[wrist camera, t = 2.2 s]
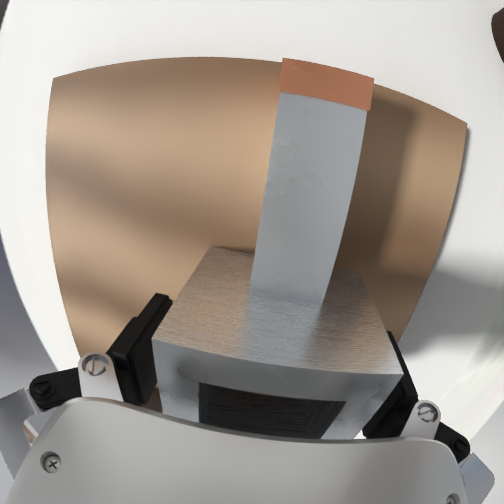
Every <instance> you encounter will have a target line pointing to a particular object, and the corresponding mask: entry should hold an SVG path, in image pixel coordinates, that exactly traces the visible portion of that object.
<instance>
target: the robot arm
mask: <svg viewBox="0 0 504 504" xmlns="http://www.w3.org/2000/svg"><path fill="white" fill-rule="evenodd" d="M172 304H173V300H172V299H169V296H168V295H165V294H161V293H155V294H154V296H153V297H152V298H151V300H150V301H149V302H148V304H147V305H146V306H145V307H144V309H143V310H142V311H141V313H140V314H139V315H138V317H133V318H132V319H131V320H130V321H129V323H128V324H127V325H126V326H125V328H124V329H123V330H122V332H121V333H120V334H119V336H118V337H117V338H116V340H115V341H114V342H113V344H112V345H111V347H110V348H109V349H108V351H107V352H106V353H103V352H90V353H87V354H85V355H84V356H83V357H82V358H81V359H80V360H79V362H78V367H77V368H72V369H68V370H63V371H59V372H54V373H50V374H45V375H41V376H38V377H36V378H35V379H33V381H32V382H31V384H30V386H29V389H27V390H25V389H24V388H23V389H20V390H18V391H16V392H14V393H12V394H10V395H7V396H5V397H3V398H1V399H0V450H1V452H2V455H3V457H4V460H5V462H6V464H7V466H8V468H9V470H10V472H11V474H12V476H13V478H14V482H13V484H12V487H11V489H10V491H9V493H8V496H7V498H6V501H5V504H482V502H483V501H484V499H485V498H486V496H487V495H488V493H489V492H490V490H491V489H492V487H493V485H494V480H495V479H494V475H493V473H492V472H491V471H490V470H489V469H488V468H487V466H486V465H485V464H484V463H483V462H482V461H481V460H480V459H479V458H478V457H477V456H476V455H475V454H474V453H472V454H470V444H469V442H468V440H467V439H466V438H465V437H464V436H462V435H461V434H459V433H457V432H456V431H454V430H453V429H451V428H450V427H448V426H446V425H445V424H443V423H442V422H440V419H441V413H440V410H439V408H438V407H437V406H436V404H434V403H433V402H431V401H428V400H421V401H419V400H418V394H417V392H416V389H415V386H414V384H413V381H412V379H411V376H410V374H409V371H408V369H407V366H406V364H405V362H404V359H403V357H402V355H401V352H400V350H399V348H398V345H397V343H396V341H395V339H394V337H393V334H392V332H391V331H387V330H386V332H387V334H388V337H389V339H390V341H391V344H392V346H393V348H394V351H395V353H396V356H397V358H398V361H399V363H400V366H401V368H402V371H403V376H402V377H401V379H400V380H399V382H398V383H397V385H396V386H395V388H394V389H393V390H392V392H391V393H390V394H389V396H388V397H387V399H386V400H385V401H384V402H383V404H382V405H381V406H380V408H379V409H378V410H377V411H376V413H375V414H374V415H373V416H372V418H371V419H370V420H369V421H368V423H367V424H366V425H365V426H364V427H363V428H362V432H363V435H364V436H365V437H366V439H306V438H292V437H281V436H271V435H263V434H255V433H249V432H242V431H236V430H231V429H225V428H220V427H215V426H210V425H206V424H201V423H197V422H193V421H189V420H185V419H181V418H177V417H174V416H170V415H166V414H163V413H159V412H156V411H153V410H149V409H146V408H143V407H142V405H143V404H144V405H146V404H147V403H148V401H149V399H150V397H151V395H152V393H153V391H154V389H155V387H156V384H157V382H158V381H157V375H156V369H155V362H154V355H153V347H152V339H151V338H152V337H153V335H154V333H155V332H156V330H157V328H158V327H159V325H160V324H161V322H162V320H163V319H164V317H165V316H166V314H167V312H168V311H169V309H170V308H171V306H172Z"/></svg>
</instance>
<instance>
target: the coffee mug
mask: <svg viewBox="0 0 504 504" xmlns="http://www.w3.org/2000/svg"><path fill="white" fill-rule="evenodd" d="M491 26H492V33H493V37H494V41H495V43H496V46H497V49H498V52H499V54H500V56H501V59H502V61H503V63H504V8H503V9H501V10H500V11H498V12H497V13H495V14H494V15H493V17H492V22H491Z"/></svg>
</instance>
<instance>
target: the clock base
mask: <svg viewBox="0 0 504 504" xmlns="http://www.w3.org/2000/svg"><path fill="white" fill-rule="evenodd" d="M281 67H282V63H281V62H273V61H265V60H255V59H243V58H225V57H180V58H162V59H150V60H141V61H133V62H125V63H119V64H112V65H107V66H101V67H96V68H92V69H87V70H83V71H78V72H74V73H70V74H67V75H63V76H59V77H56V78H53V82H52V88H51V95H50V102H49V111H48V121H47V135H46V196H47V210H48V221H49V230H50V238H51V245H52V251H53V257H54V263H55V268H56V273H57V278H58V283H59V287H60V292H61V296H62V300H63V304H64V308H65V311H66V315H67V318H68V322H69V325H70V329H71V332H72V335H73V338H74V341H75V344H76V347H77V350H78V352H79V355H80V358H82V357H83V356H84V355H85V354H87V353H90V352H103V353H106V352H107V351H108V349H109V348H110V347H111V345H112V344H113V342H114V341H115V340H116V338H117V337H118V336H119V334H120V333H121V332H122V330H123V329H124V328H125V326H126V325H127V324H128V323H129V321H130V320H131V319H132V318H133V317H138V315H139V314H140V313H141V311H142V310H143V309H144V307H145V306H146V305H147V304H148V302H149V301H150V300H151V298H152V297H153V296H154V294H155V293H161V294H165V295H168V296H169V299H172V300H173V303H174V301H175V300H176V298H177V296H178V295H179V293H180V292H181V290H182V289H183V287H184V285H185V284H186V282H187V281H188V279H189V278H190V276H191V275H192V273H193V272H194V270H195V268H196V267H197V265H198V264H199V262H200V261H201V259H202V258H203V256H204V255H205V253H206V252H207V250H208V249H209V247H210V246H216V247H222V248H227V249H233V250H239V251H245V252H251V253H255V249H256V243H257V237H258V230H259V224H260V217H261V211H262V205H263V198H264V192H265V185H266V179H267V172H268V166H269V160H270V153H271V147H272V140H273V134H274V127H275V120H276V114H277V107H278V101H279V96H278V87H279V80H280V74H281ZM466 131H467V123H466V122H464V121H462V120H460V119H458V118H456V117H454V116H452V115H450V114H448V113H446V112H444V111H442V110H440V109H438V108H436V107H434V106H431V105H429V104H427V103H425V102H422V101H420V100H418V99H415V98H413V97H410V96H408V95H405V94H403V93H400V92H397V91H394V90H392V89H389V88H386V87H383V86H380V85H377V84H374V83H373V92H372V100H371V107H370V111H368V112H367V116H366V122H365V129H364V135H363V141H362V146H361V152H360V157H359V163H358V168H357V173H356V178H355V182H354V187H353V192H352V196H351V201H350V205H349V209H348V213H347V218H346V222H345V226H344V230H343V234H342V237H341V241H340V245H339V249H338V252H337V256H336V260H335V263H334V267H337V268H343V269H349V270H355V271H358V272H359V274H360V276H361V278H362V280H363V282H364V284H365V286H366V288H367V290H368V293H369V295H370V297H371V299H372V301H373V303H374V305H375V307H376V310H377V312H378V314H379V316H380V318H381V321H382V323H383V325H384V327H385V330H387V331H391V332H392V334H393V337H394V339H395V341H396V343H398V341H399V339H400V337H401V335H402V333H403V331H404V329H405V328H406V326H407V324H408V322H409V320H410V318H411V315H412V313H413V311H414V309H415V307H416V305H417V303H418V300H419V298H420V296H421V294H422V291H423V289H424V287H425V284H426V282H427V279H428V277H429V275H430V272H431V269H432V267H433V264H434V262H435V259H436V256H437V253H438V250H439V248H440V245H441V242H442V239H443V236H444V232H445V229H446V226H447V223H448V219H449V216H450V212H451V208H452V205H453V201H454V197H455V193H456V188H457V184H458V179H459V175H460V170H461V164H462V159H463V153H464V146H465V139H466ZM142 407H143V408H146V409H149V410H153V411H156V412H159V413H163V409H162V403H161V398H160V393H159V387H158V382H157V384H156V387H155V389H154V391H153V393H152V395H151V397H150V399H149V401H148V403H147V404H146V405H144V404H143V405H142ZM163 414H164V413H163Z"/></svg>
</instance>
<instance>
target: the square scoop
mask: <svg viewBox="0 0 504 504" xmlns="http://www.w3.org/2000/svg"><path fill="white" fill-rule="evenodd" d="M373 83H374V78H371V77H368V76H364V75H361V74H358V73H354V72H350V71H347V70H343V69H339V68H335V67H330V66H326V65H321V64H317V63H312V62H306V61H301V60H295V59H288V58H283V61H282V67H281V74H280V80H279V87H278V96H279V101H278V107H277V114H276V120H275V127H274V134H273V140H272V147H271V153H270V160H269V166H268V172H267V179H266V185H265V192H264V198H263V205H262V211H261V217H260V224H259V230H258V237H257V243H256V249H255V253H251V252H245V251H239V250H233V249H227V248H222V247H216V246H210V247H209V249H208V250H207V252H206V253H205V255H204V256H203V258H202V259H201V261H200V262H199V264H198V265H197V267H196V268H195V270H194V272H193V273H192V275H191V276H190V278H189V279H188V281H187V282H186V284H185V285H184V287H183V289H182V290H181V292H180V293H179V295H178V296H177V298H176V300H175V301H174V303H173V304H172V306H171V308H170V309H169V311H168V312H167V314H166V316H165V317H164V319H163V320H162V322H161V324H160V325H159V327H158V328H157V330H156V332H155V333H154V335H153V337H152V338H151V339H152V347H153V355H154V362H155V369H156V375H157V381H158V387H159V393H160V398H161V403H162V409H163V413H164V414H166V415H170V416H174V417H177V418H181V419H185V420H189V421H193V422H197V423H201V424H206V425H210V426H215V427H220V428H225V429H231V430H236V431H242V432H249V433H255V434H263V435H271V436H281V437H292V438H306V439H354V437H355V436H356V435H357V434H358V433H359V432H360V431H361V430H362V428H363V427H364V426H365V425H366V424H367V423H368V421H369V420H370V419H371V418H372V416H373V415H374V414H375V413H376V411H377V410H378V409H379V408H380V406H381V405H382V404H383V402H384V401H385V400H386V399H387V397H388V396H389V394H390V393H391V392H392V390H393V389H394V388H395V386H396V385H397V383H398V382H399V380H400V379H401V377H402V376H403V371H402V368H401V366H400V363H399V361H398V358H397V356H396V353H395V351H394V348H393V346H392V344H391V341H390V339H389V337H388V334H387V332H386V330H385V327H384V325H383V323H382V321H381V318H380V316H379V314H378V312H377V310H376V307H375V305H374V303H373V301H372V299H371V297H370V295H369V293H368V290H367V288H366V286H365V284H364V282H363V280H362V278H361V276H360V274H359V272H358V271H355V270H349V269H343V268H337V267H334V263H335V260H336V256H337V252H338V249H339V245H340V241H341V237H342V234H343V230H344V226H345V222H346V218H347V213H348V209H349V205H350V201H351V196H352V192H353V187H354V182H355V178H356V173H357V168H358V163H359V157H360V152H361V146H362V141H363V135H364V129H365V122H366V116H367V112H368V111H370V107H371V100H372V92H373Z"/></svg>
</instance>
